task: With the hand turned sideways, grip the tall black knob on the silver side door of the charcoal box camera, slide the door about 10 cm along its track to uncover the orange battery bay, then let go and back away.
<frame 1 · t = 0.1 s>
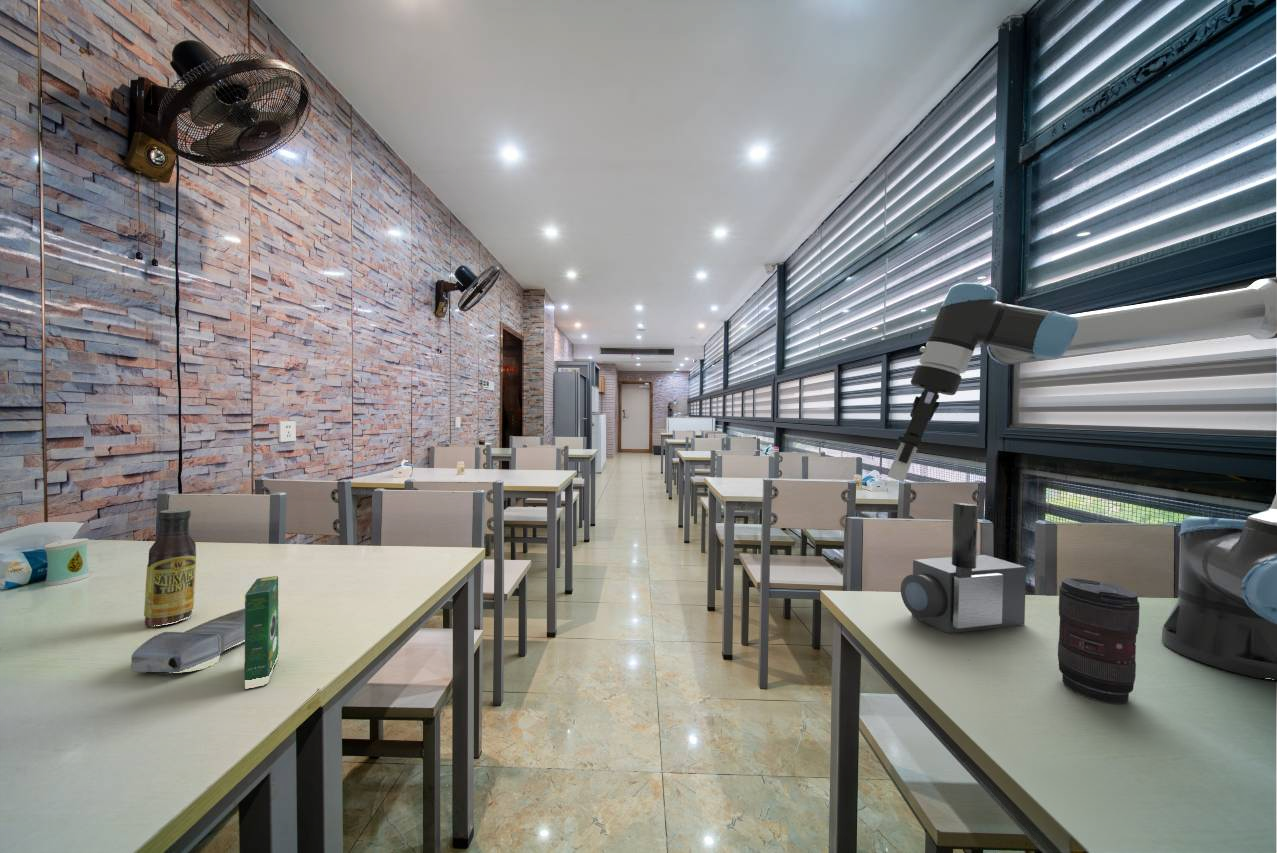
hand: (895, 475, 89), 28 cm above the table, tool tilted 20°, fingers open, 13 cm apart
sauce bottle: (170, 622, 82), on the table
camera housing: (967, 619, 89), on the table
handheld device: (219, 648, 74), on the table
camera lens: (1094, 691, 66), on the table
side door: (978, 564, 83), point 13 cm above the table, slide at 0.0 cm
coffee box: (262, 675, 66), on the table
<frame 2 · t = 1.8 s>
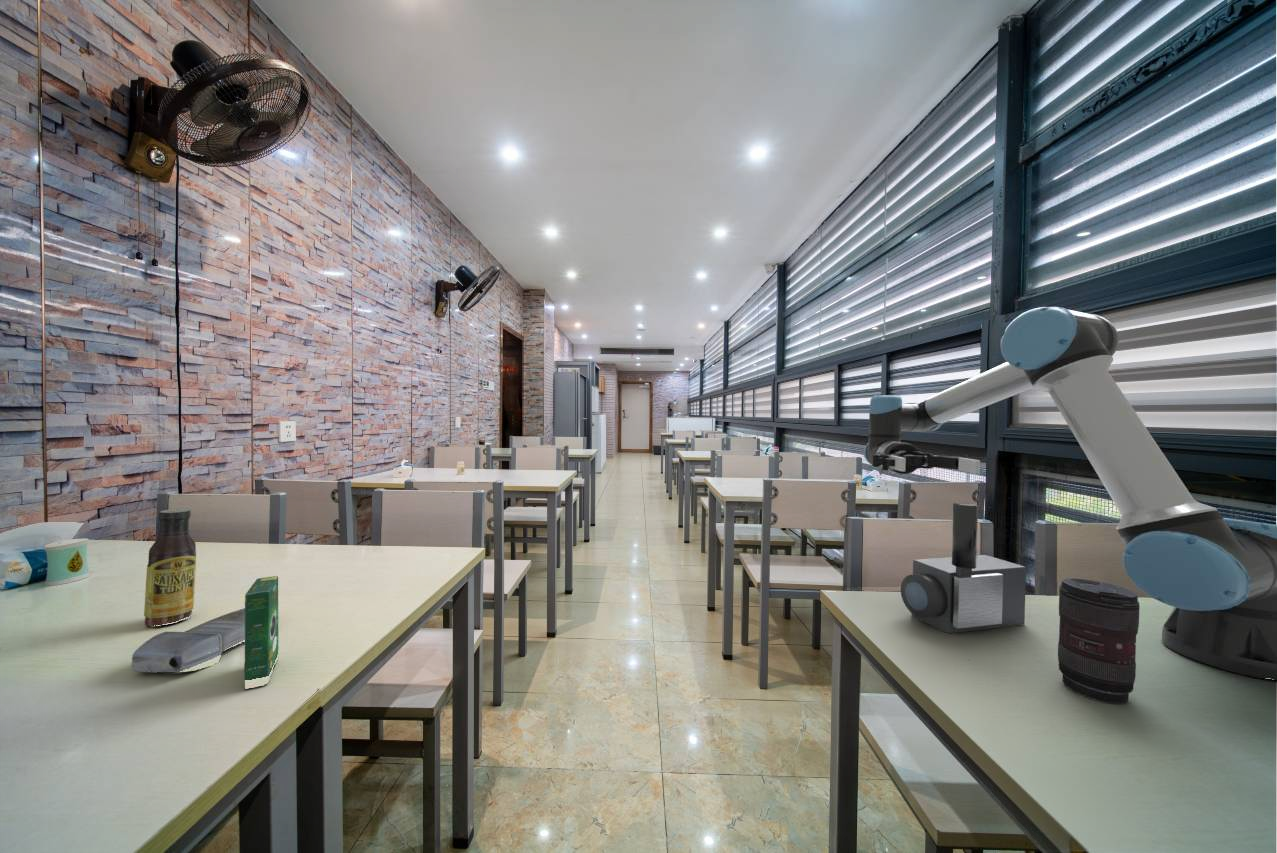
hand: (940, 466, 92), 29 cm above the table, tool horizontal, fingers open, 13 cm apart
nothing on the table moved.
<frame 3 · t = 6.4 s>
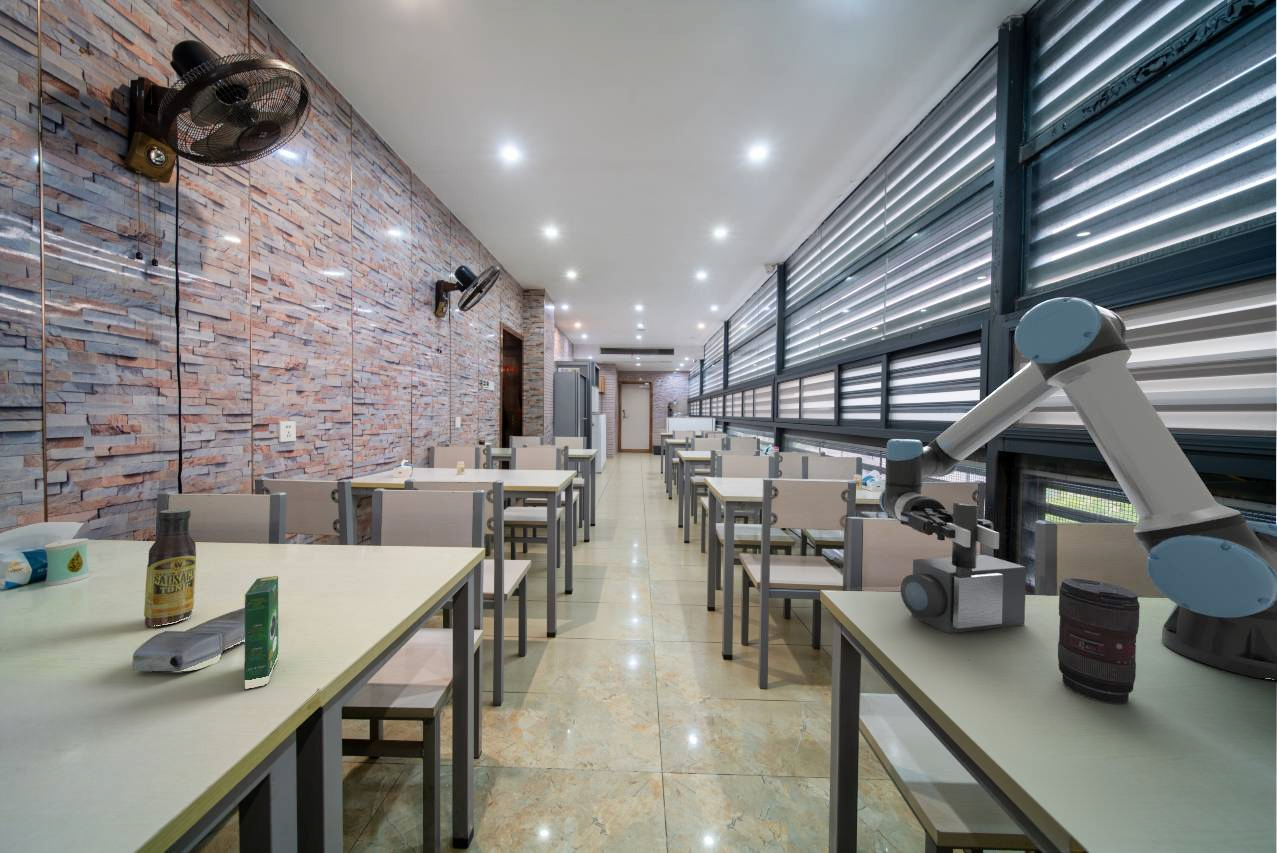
hand: (982, 539, 77), 18 cm above the table, tool horizontal, fingers closed on side door, 4 cm apart
side door: (978, 564, 83), point 12 cm above the table, slide at 0.0 cm, touching gripper
everything else where it was.
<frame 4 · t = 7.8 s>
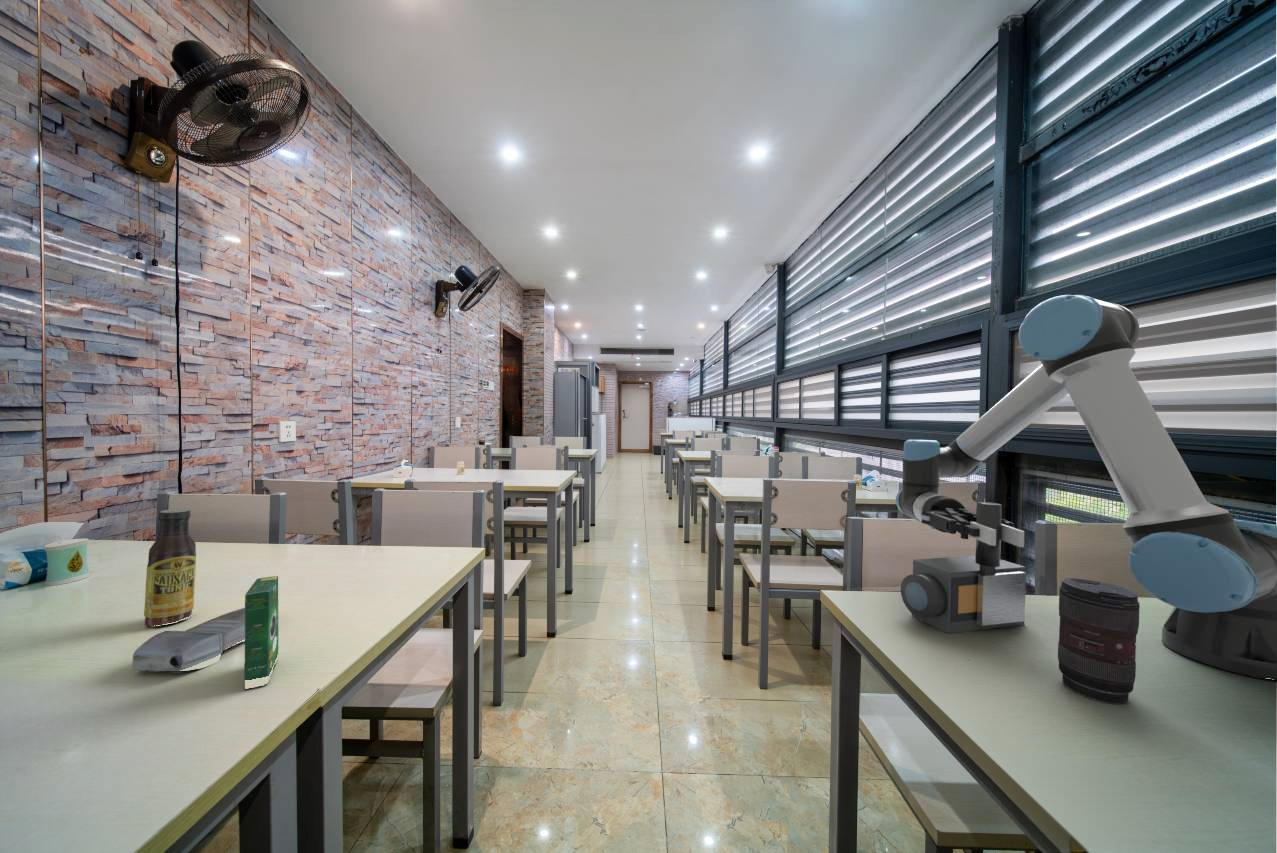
hand: (1007, 538, 78), 19 cm above the table, tool horizontal, fingers closed on side door, 4 cm apart
side door: (1001, 562, 84), point 13 cm above the table, slide at 5.4 cm, touching gripper
everything else where it was.
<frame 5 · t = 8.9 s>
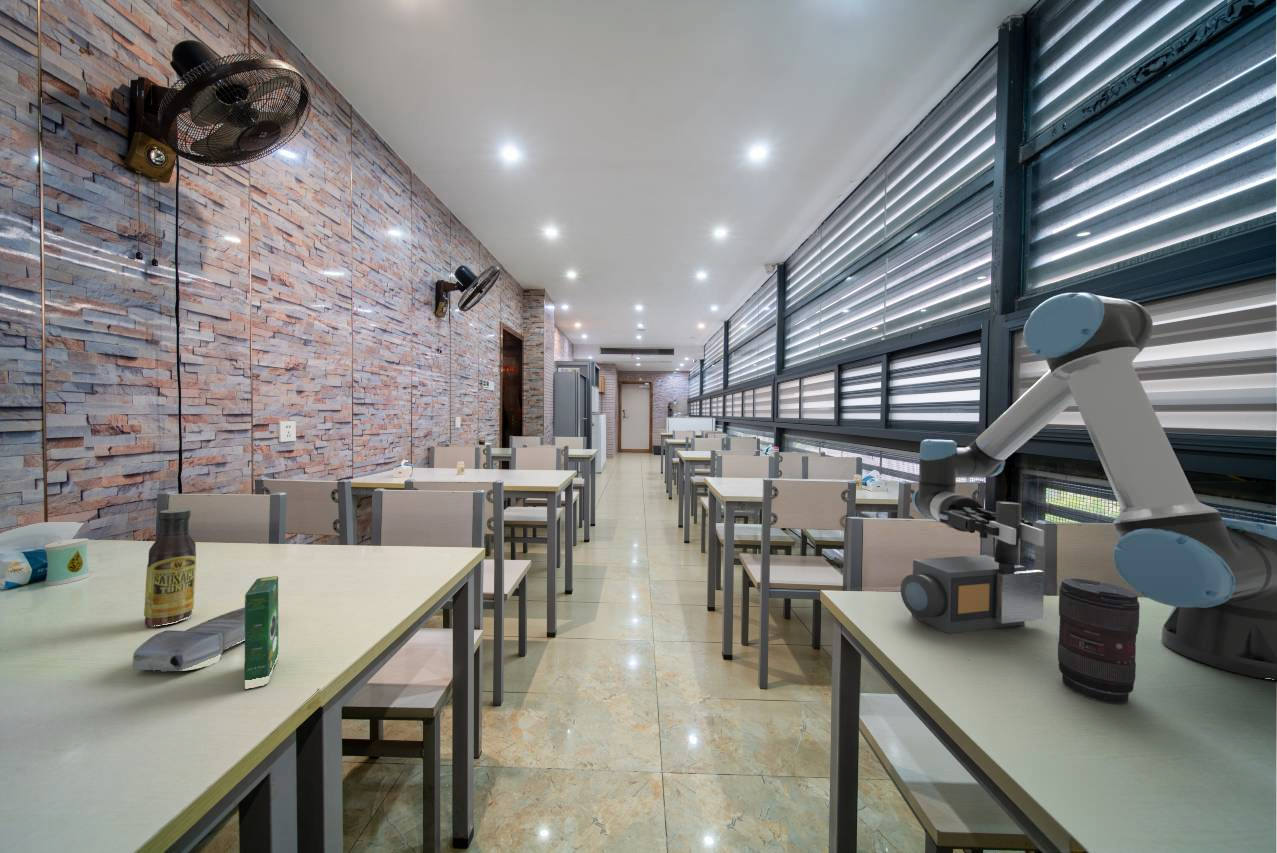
hand: (1027, 537, 79), 18 cm above the table, tool horizontal, fingers closed on side door, 4 cm apart
side door: (1020, 561, 86), point 13 cm above the table, slide at 9.9 cm, touching gripper
everything else where it was.
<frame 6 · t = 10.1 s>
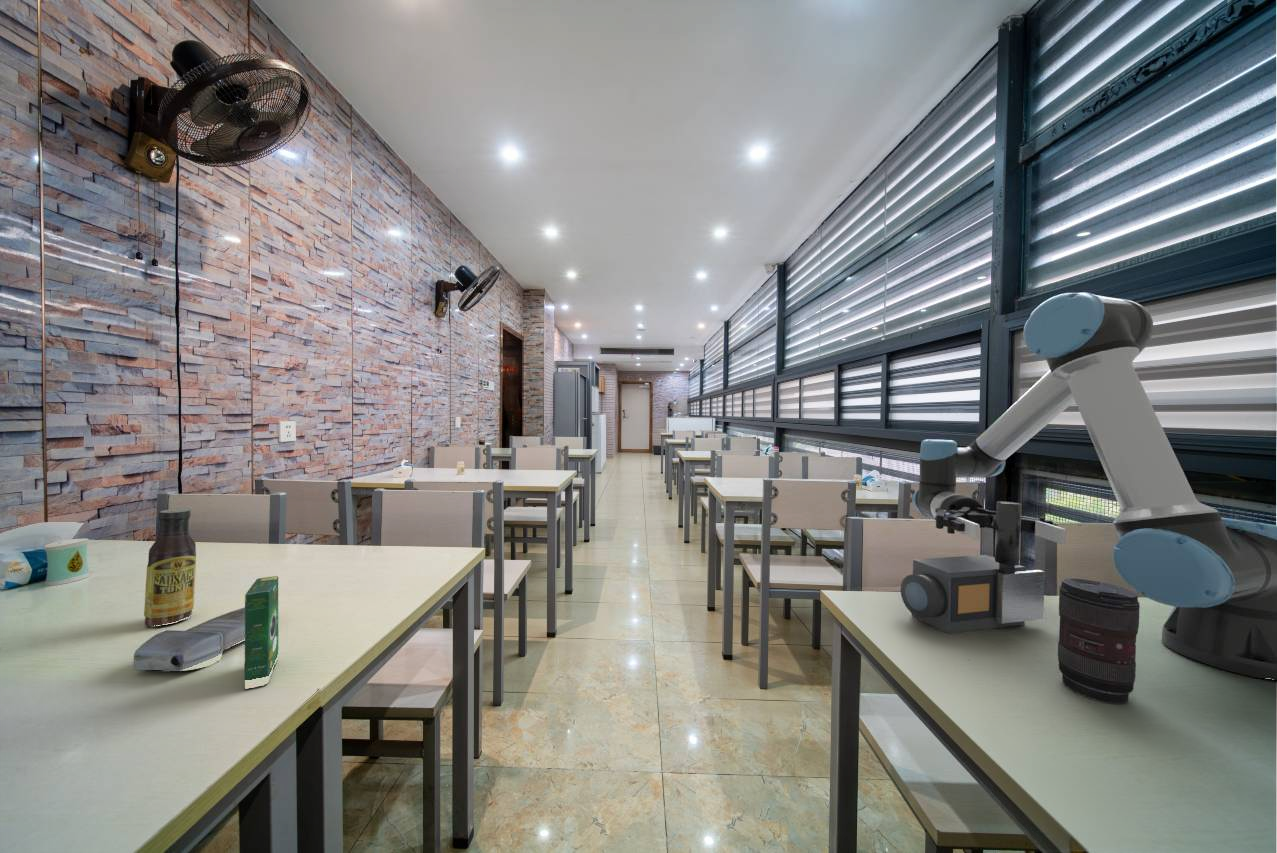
hand: (1019, 534, 81), 19 cm above the table, tool horizontal, fingers open, 13 cm apart
side door: (1021, 561, 86), point 13 cm above the table, slide at 10.0 cm
everything else where it was.
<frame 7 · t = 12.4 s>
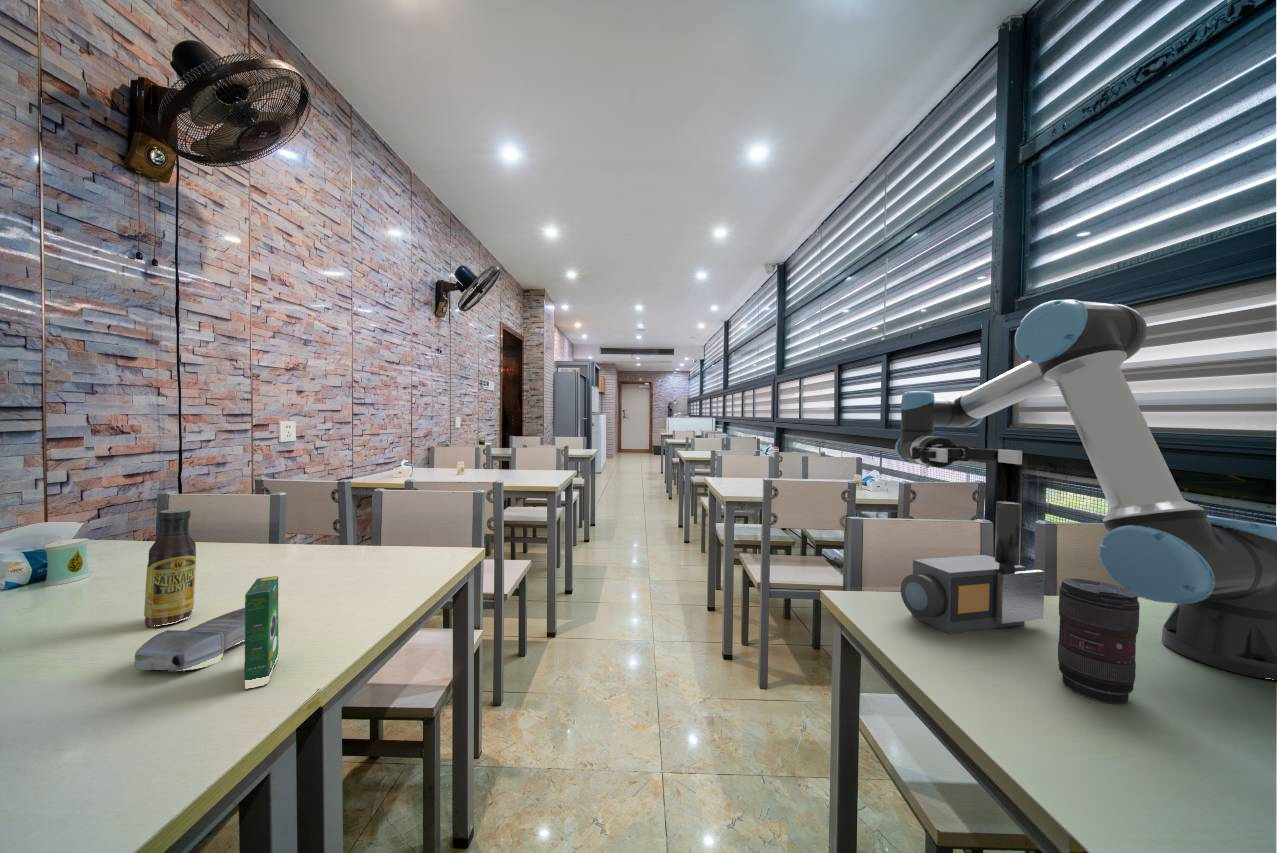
hand: (982, 456, 93), 31 cm above the table, tool horizontal, fingers open, 13 cm apart
nothing on the table moved.
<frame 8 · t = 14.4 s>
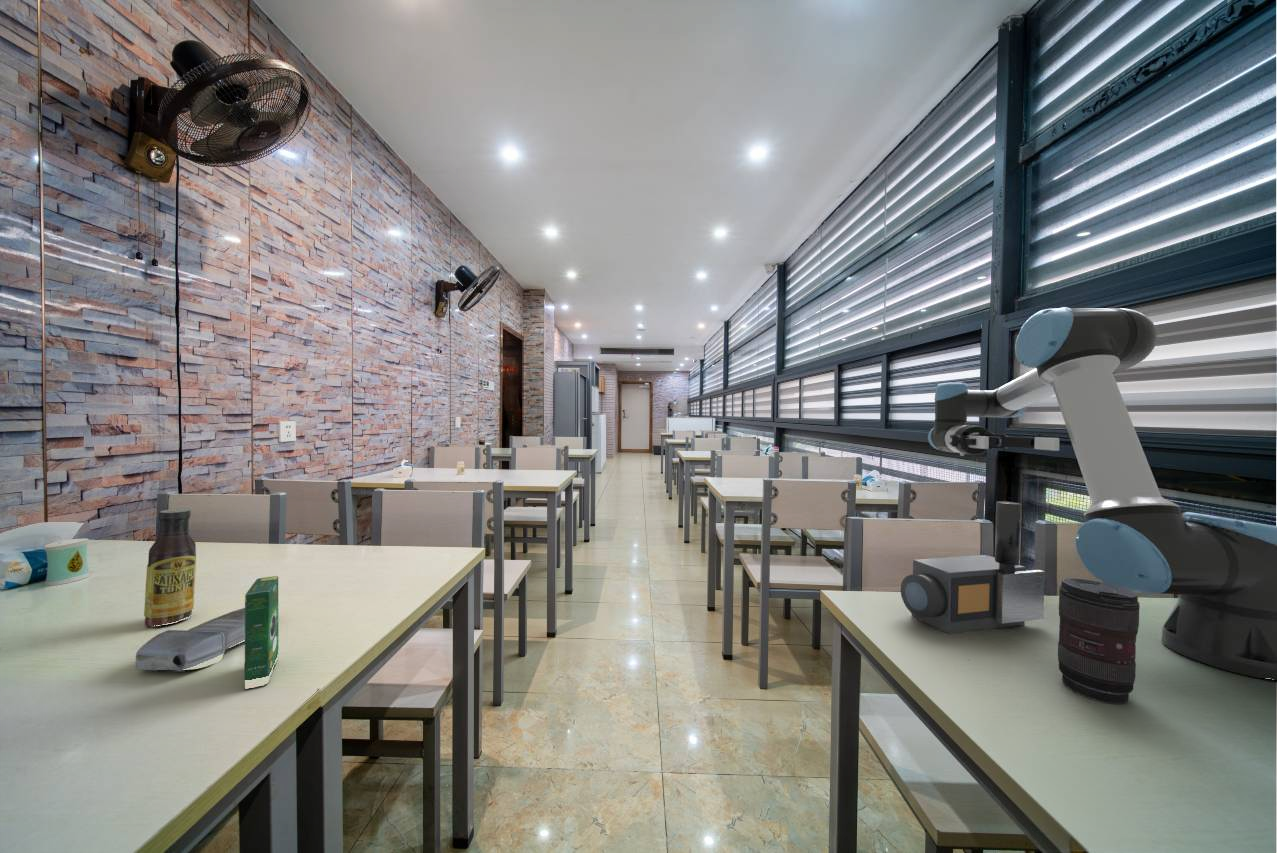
hand: (1021, 443, 99), 34 cm above the table, tool horizontal, fingers open, 13 cm apart
nothing on the table moved.
at the end: side door slide at 10.0 cm; the gripper is holding nothing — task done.
